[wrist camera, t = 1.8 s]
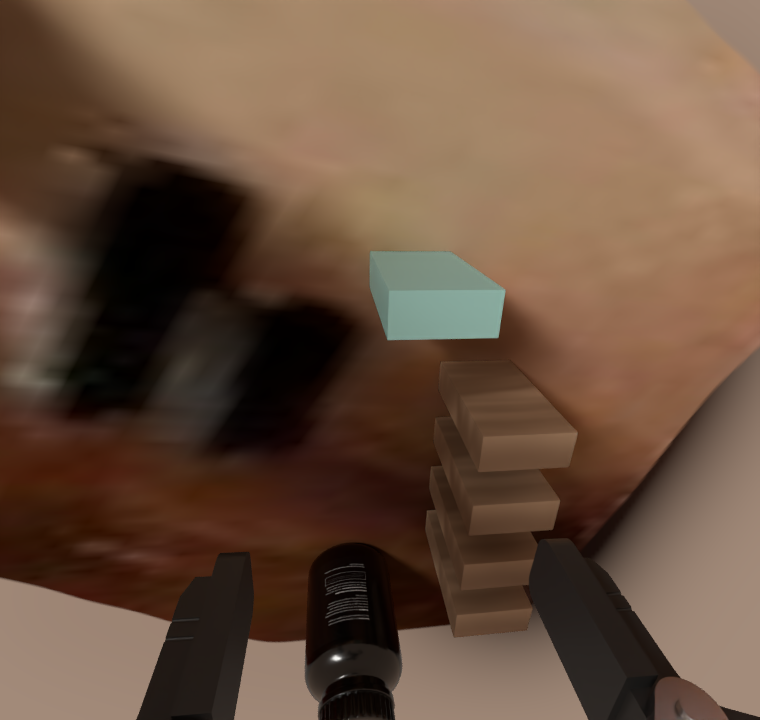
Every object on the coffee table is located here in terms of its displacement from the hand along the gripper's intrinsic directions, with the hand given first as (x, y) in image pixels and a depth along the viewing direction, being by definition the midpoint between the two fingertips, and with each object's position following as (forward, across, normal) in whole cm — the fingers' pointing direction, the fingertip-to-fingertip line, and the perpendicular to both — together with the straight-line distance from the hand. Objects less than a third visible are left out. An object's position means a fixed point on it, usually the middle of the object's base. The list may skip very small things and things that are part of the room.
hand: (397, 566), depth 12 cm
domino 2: (+18, -8, +3) cm, 20 cm away
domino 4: (+18, -9, +12) cm, 23 cm away
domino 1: (+18, -3, -4) cm, 19 cm away
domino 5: (+18, -9, +16) cm, 26 cm away
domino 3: (+18, -8, +7) cm, 21 cm away
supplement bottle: (+18, 0, +22) cm, 28 cm away
